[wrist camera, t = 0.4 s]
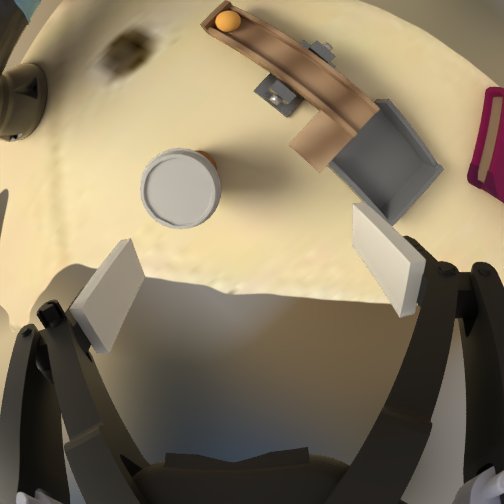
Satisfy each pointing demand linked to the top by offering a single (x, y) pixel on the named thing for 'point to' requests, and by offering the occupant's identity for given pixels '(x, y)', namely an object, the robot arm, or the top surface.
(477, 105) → the top surface
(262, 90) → the fulcrum
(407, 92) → the top surface
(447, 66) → the top surface
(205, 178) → the disposable coffee cup
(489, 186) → the book
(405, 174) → the tray
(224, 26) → the ball
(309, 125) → the lever
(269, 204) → the top surface
